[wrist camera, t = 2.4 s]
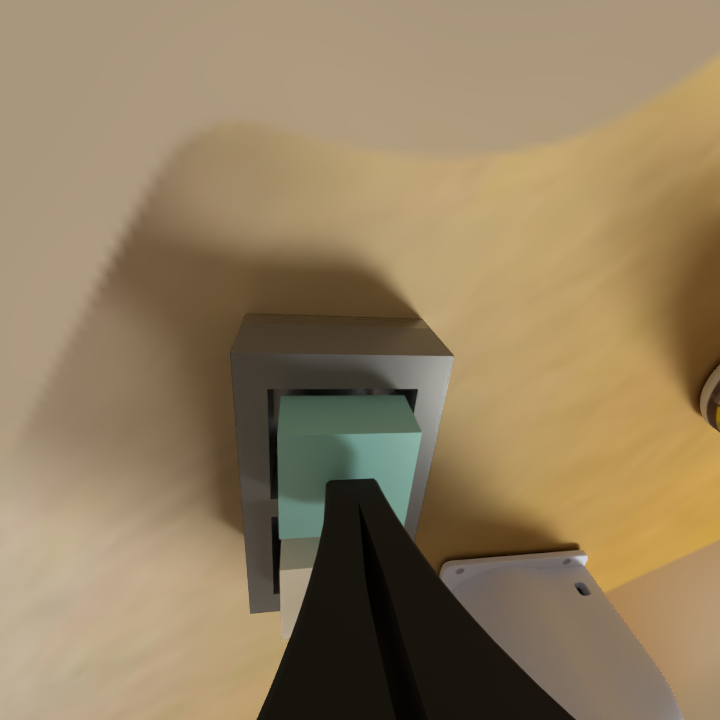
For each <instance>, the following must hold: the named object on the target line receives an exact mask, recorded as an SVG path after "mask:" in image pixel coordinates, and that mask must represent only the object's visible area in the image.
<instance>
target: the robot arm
mask: <svg viewBox="0 0 720 720" xmlns="http://www.w3.org/2000/svg"><path fill="white" fill-rule="evenodd" d="M587 560H588V556H587V554H586V553H585V552H584V551H583V550H573V551H561V552H549V553H537V554H525V555H513V556H501V557H489V558H477V559H465V560H453V561H448V562H446V563H444V564H443V566H442V568H441V572H440V575H439V576H438V574H437V573H436V572H435V570H434V569H433V568H432V567H431V565H430V564H429V563H428V561H427V560H426V558H425V557H424V556H423V554H422V553H421V552H420V550H419V549H418V547H417V546H416V544H415V543H414V541H413V540H412V538H411V537H410V535H409V534H408V533H407V531H406V530H405V528H404V527H403V525H402V523H401V522H400V520H399V519H398V517H397V516H396V514H395V512H394V511H393V509H392V507H391V506H390V504H389V502H388V501H387V499H386V497H385V495H384V494H383V492H382V490H381V488H380V486H379V484H378V482H377V481H376V480H375V479H374V478H369V479H345V480H330V481H328V482H327V483H326V488H325V506H324V522H323V527H322V532H321V537H320V541H319V546H318V550H317V554H316V558H315V562H314V565H313V569H312V572H311V576H310V579H309V583H308V586H307V590H306V593H305V596H304V599H303V602H302V605H301V608H300V611H299V614H298V617H297V620H296V623H295V626H294V628H293V631H292V634H291V637H290V639H289V642H288V645H287V647H286V650H285V652H284V655H283V658H282V660H281V663H280V665H279V668H278V671H277V673H276V676H275V678H274V680H273V683H272V685H271V688H270V690H269V693H268V695H267V697H266V700H265V702H264V704H263V706H262V709H261V711H260V713H259V716H258V718H257V720H684V718H683V716H682V713H681V710H680V708H679V705H678V703H677V700H676V698H675V696H674V694H673V692H672V690H671V688H670V686H669V684H668V682H667V681H666V679H665V677H664V676H663V674H662V672H661V671H660V669H659V668H658V667H657V665H656V664H655V662H654V661H653V659H652V658H651V657H650V655H649V654H648V653H647V651H646V650H645V649H644V647H643V646H642V644H641V643H640V642H639V640H638V639H637V638H636V636H635V635H634V634H633V632H632V631H631V629H630V628H629V627H628V625H627V624H626V622H624V620H623V618H622V617H621V616H620V614H619V613H618V612H617V610H616V609H615V607H614V606H613V605H612V603H611V602H610V601H609V599H608V598H607V596H606V595H605V594H604V592H603V591H602V590H601V588H600V587H599V585H598V584H597V583H596V581H595V580H594V579H593V577H592V576H591V574H590V573H589V572H588V570H587V569H586V568H585V564H586V562H587Z"/></svg>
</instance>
